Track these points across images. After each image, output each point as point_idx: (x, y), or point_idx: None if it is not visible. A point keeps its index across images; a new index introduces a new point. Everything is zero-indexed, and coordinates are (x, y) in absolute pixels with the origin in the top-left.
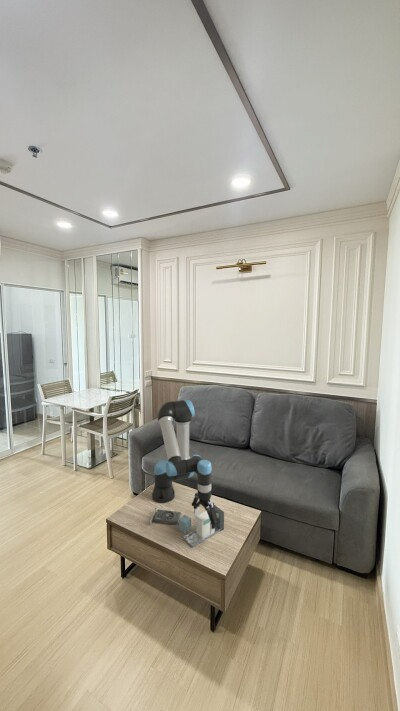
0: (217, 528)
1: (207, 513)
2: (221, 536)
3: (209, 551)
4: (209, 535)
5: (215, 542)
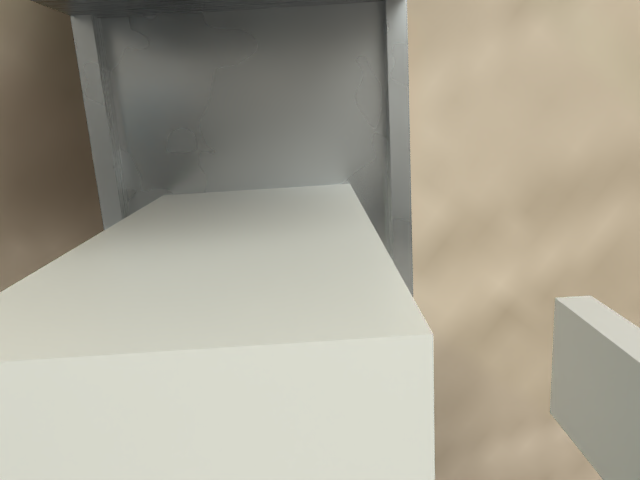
0: (324, 11)
1: (141, 456)
2: (517, 69)
3: None
4: (412, 295)
5: (556, 258)
